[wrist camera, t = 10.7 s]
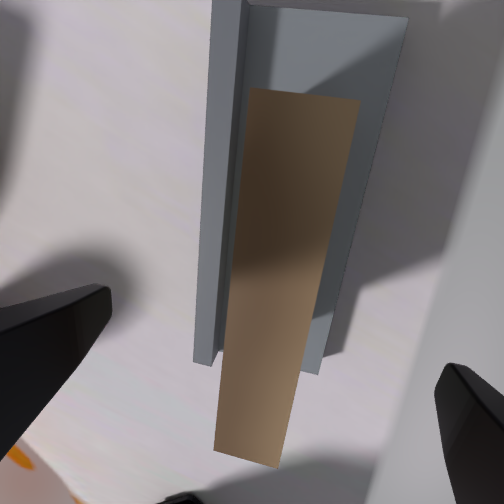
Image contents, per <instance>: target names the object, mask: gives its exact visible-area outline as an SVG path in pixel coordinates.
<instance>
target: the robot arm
mask: <svg viewBox="0 0 504 504" xmlns="http://www.w3.org/2000/svg"><path fill="white" fill-rule="evenodd" d="M111 315H112V299H111V290H110V288H109V287H108V286H105V285H100V284H91V285H87V286H83V287H80V288H76V289H72V290H68V291H65V292H61V293H57V294H53V295H50V296H46V297H42V298H39V299H35V300H31V301H27V302H24V303H20V304H16V305H12V306H9V307H5V308H1V309H0V461H1V460H2V459H3V458H4V456H5V455H6V454H7V453H8V451H9V450H10V449H11V448H12V447H13V445H14V444H15V443H16V442H17V440H18V439H19V438H20V437H21V436H22V434H23V433H24V432H25V431H26V429H27V428H28V427H29V426H30V425H31V423H32V422H33V421H34V420H35V418H36V417H37V416H38V415H39V414H40V412H41V411H42V410H43V409H44V407H45V406H46V405H47V404H48V403H49V401H50V400H51V399H52V398H53V396H54V395H55V394H56V393H57V392H58V390H59V389H60V388H61V387H62V385H63V384H64V383H65V382H66V381H67V379H68V378H69V377H70V376H71V375H72V373H73V372H74V371H75V370H76V368H77V367H78V366H79V364H80V363H81V362H82V360H83V359H84V358H85V356H86V355H87V353H88V352H89V350H90V349H91V347H92V346H93V344H94V343H95V341H96V340H97V338H98V337H99V335H100V334H101V332H102V331H103V329H104V328H105V326H106V324H107V323H108V321H109V320H110V318H111ZM434 397H435V404H436V410H437V416H438V422H439V429H440V435H441V442H442V448H443V453H444V459H445V463H446V467H447V471H448V475H449V478H450V482H451V486H452V489H453V493H454V496H455V501H456V504H504V396H503V395H502V394H501V393H500V392H498V391H497V390H496V389H495V388H493V387H492V386H491V385H490V384H488V383H487V382H486V381H485V380H484V379H482V378H481V377H479V375H477V374H476V373H475V372H474V371H472V370H471V369H470V368H468V367H467V366H465V365H460V364H455V363H448V364H446V366H445V367H444V369H443V371H442V373H441V376H440V378H439V380H438V382H437V384H436V387H435V392H434ZM162 504H201V503H200V502H199V501H198V500H197V499H196V498H195V497H194V496H192V495H187V496H184V497H181V498H178V499H174V500H171V501H168V502H165V503H162Z"/></svg>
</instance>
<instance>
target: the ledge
mask: <svg viewBox="0 0 504 504" xmlns="http://www.w3.org/2000/svg"><path fill="white" fill-rule="evenodd" d="M408 20H409V18H407V17H395V16H382V15H370V14H357V13H345V12H332V11H319V10H307V9H294V8H282V7H269V6H256V5H250V4H249V3H248V1H247V0H212V13H211V32H210V51H209V70H208V89H207V108H206V127H205V145H204V164H203V183H202V202H201V221H200V240H199V259H198V277H197V296H196V315H195V334H194V353H193V362H194V363H198V364H202V365H206V366H210V367H211V366H212V364H213V362H214V360H215V357H216V355H217V353H218V351H220V352H223V351H224V341H225V331H226V321H227V311H228V301H229V291H230V281H231V271H232V261H233V251H234V241H235V231H236V221H237V211H238V201H239V191H240V181H241V171H242V161H243V151H244V141H245V131H246V121H247V111H248V101H249V91H250V87H252V88H261V89H269V90H278V91H286V92H295V93H303V94H312V95H320V96H329V97H337V98H346V99H354V100H361V103H360V107H359V112H358V116H357V121H356V125H355V130H354V134H353V138H352V143H351V147H350V152H349V156H348V161H347V165H346V169H345V174H344V178H343V183H342V187H341V192H340V196H339V200H338V205H337V209H336V214H335V218H334V223H333V227H332V231H331V236H330V240H329V245H328V249H327V254H326V258H325V262H324V267H323V271H322V276H321V280H320V285H319V289H318V294H317V298H316V302H315V307H314V311H313V316H312V320H311V325H310V329H309V333H308V338H307V342H306V347H305V351H304V356H303V360H302V364H301V369H300V371H303V372H307V373H312V374H316V375H318V373H319V369H320V365H321V361H322V358H323V354H324V350H325V346H326V342H327V338H328V334H329V330H330V326H331V322H332V318H333V314H334V310H335V307H336V303H337V299H338V295H339V291H340V287H341V283H342V279H343V275H344V271H345V267H346V263H347V259H348V256H349V252H350V248H351V244H352V240H353V236H354V232H355V228H356V224H357V220H358V216H359V212H360V208H361V205H362V201H363V197H364V193H365V189H366V185H367V181H368V177H369V173H370V169H371V165H372V161H373V158H374V154H375V150H376V146H377V142H378V138H379V134H380V130H381V126H382V122H383V118H384V114H385V110H386V107H387V103H388V99H389V95H390V91H391V87H392V83H393V79H394V75H395V71H396V67H397V63H398V59H399V56H400V52H401V48H402V44H403V40H404V36H405V32H406V28H407V24H408Z"/></svg>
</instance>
